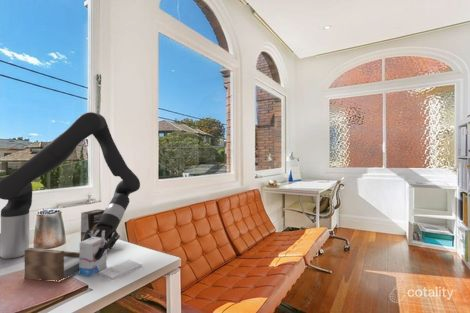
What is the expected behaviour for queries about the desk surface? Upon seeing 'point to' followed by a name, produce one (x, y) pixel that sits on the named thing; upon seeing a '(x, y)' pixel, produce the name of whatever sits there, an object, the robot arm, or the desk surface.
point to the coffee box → (90, 221)
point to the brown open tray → (50, 264)
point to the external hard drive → (120, 269)
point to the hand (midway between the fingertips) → (89, 258)
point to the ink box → (91, 256)
